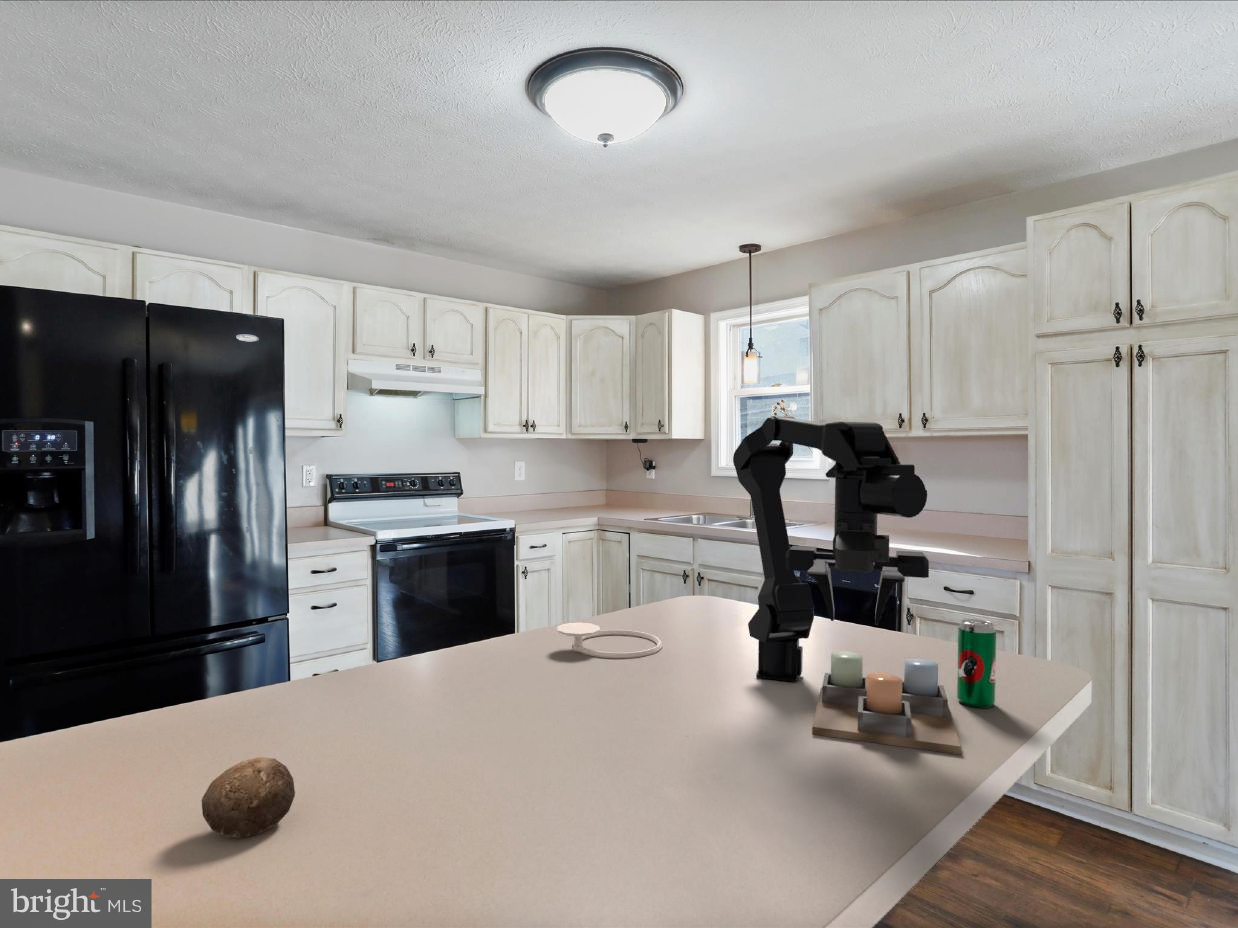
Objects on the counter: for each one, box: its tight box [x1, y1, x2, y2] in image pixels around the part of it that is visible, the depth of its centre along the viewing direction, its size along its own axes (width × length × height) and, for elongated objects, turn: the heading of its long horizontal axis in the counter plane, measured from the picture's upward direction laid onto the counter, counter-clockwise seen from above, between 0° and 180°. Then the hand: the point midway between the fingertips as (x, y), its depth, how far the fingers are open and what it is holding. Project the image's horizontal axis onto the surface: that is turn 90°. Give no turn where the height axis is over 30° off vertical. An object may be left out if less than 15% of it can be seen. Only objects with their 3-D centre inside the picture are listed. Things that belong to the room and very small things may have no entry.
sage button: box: [830, 650, 864, 688], centre depth 104 cm, size 4×4×4 cm
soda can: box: [956, 618, 997, 709], centre depth 105 cm, size 5×5×12 cm
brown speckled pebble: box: [201, 756, 296, 839], centre depth 70 cm, size 8×8×6 cm
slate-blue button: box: [903, 657, 939, 696], centre depth 101 cm, size 4×4×4 cm
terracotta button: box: [866, 672, 903, 714], centre depth 94 cm, size 4×4×4 cm
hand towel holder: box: [556, 622, 663, 659], centre depth 134 cm, size 17×4×20 cm
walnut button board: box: [811, 672, 962, 755], centre depth 98 cm, size 18×16×3 cm
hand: (854, 622), depth 100 cm, fingers open, 6 cm apart
